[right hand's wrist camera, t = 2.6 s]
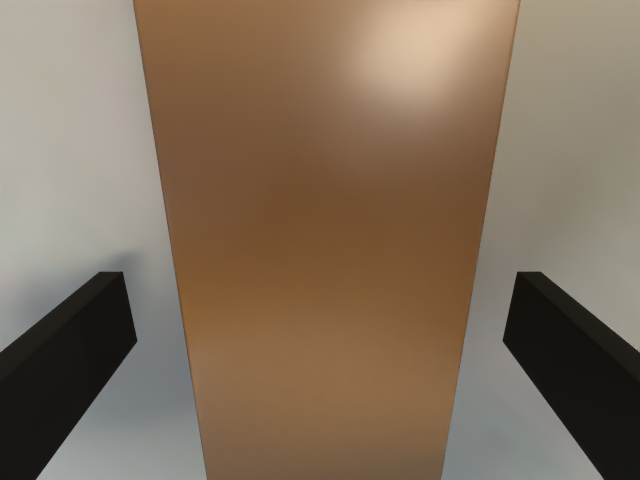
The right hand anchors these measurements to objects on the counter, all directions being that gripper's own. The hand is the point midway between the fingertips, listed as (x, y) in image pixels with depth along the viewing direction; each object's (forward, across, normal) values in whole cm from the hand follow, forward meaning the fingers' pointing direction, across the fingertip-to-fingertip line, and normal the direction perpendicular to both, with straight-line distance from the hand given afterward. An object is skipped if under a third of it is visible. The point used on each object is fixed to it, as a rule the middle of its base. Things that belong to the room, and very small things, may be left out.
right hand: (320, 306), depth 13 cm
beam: (+3, 0, -24) cm, 24 cm away
